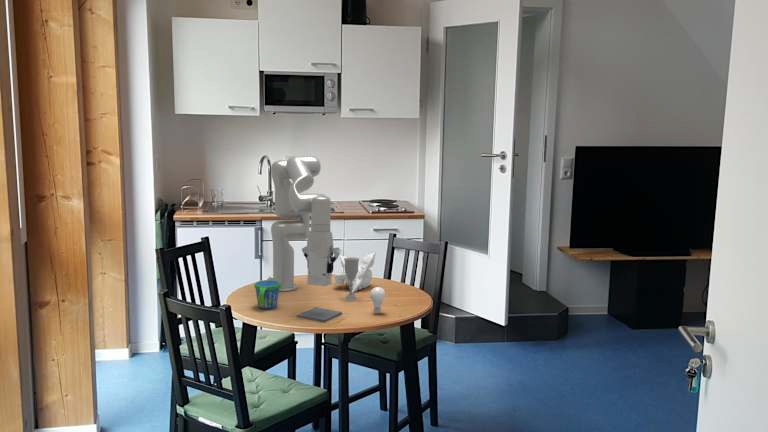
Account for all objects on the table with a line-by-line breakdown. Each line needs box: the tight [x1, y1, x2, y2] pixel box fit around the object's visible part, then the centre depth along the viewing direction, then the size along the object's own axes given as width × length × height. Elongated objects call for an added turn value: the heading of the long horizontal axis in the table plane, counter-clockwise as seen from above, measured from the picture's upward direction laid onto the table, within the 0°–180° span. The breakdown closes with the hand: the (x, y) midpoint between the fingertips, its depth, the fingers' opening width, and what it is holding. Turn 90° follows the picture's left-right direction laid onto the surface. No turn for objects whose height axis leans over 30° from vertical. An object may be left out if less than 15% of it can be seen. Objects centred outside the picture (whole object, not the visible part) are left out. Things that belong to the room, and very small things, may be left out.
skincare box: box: [306, 247, 333, 287], centre depth 261 cm, size 8×6×15 cm
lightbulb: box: [369, 286, 387, 315], centre depth 268 cm, size 6×6×11 cm
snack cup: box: [253, 279, 281, 310], centre depth 274 cm, size 16×10×10 cm
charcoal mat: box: [296, 306, 343, 323], centre depth 264 cm, size 13×13×1 cm
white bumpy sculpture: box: [334, 251, 376, 294], centre depth 310 cm, size 19×20×20 cm
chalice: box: [344, 256, 360, 302], centre depth 288 cm, size 7×7×18 cm
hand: (320, 271), depth 261 cm, fingers closed on skincare box, 8 cm apart
